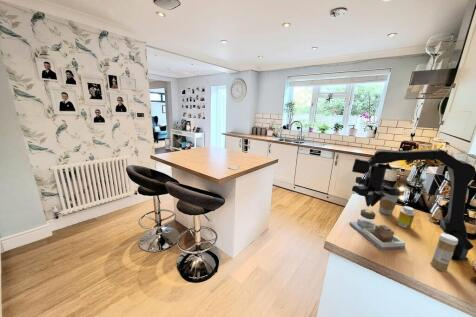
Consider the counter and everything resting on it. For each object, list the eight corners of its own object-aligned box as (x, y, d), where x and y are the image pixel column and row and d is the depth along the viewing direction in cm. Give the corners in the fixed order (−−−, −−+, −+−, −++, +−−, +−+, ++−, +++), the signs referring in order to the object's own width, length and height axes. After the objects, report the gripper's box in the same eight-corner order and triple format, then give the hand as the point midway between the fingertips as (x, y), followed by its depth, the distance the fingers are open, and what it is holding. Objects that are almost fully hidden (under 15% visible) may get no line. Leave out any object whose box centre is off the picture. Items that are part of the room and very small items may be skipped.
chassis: (404, 248, 82) (407, 240, 82) (380, 249, 81) (382, 242, 80) (369, 223, 101) (371, 216, 100) (349, 224, 99) (350, 217, 98)
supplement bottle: (408, 229, 96) (413, 211, 94) (395, 224, 101) (400, 206, 98) (412, 226, 99) (417, 209, 97) (399, 221, 104) (403, 204, 101)
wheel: (377, 219, 92) (378, 214, 92) (366, 219, 92) (367, 215, 91) (367, 212, 98) (368, 208, 98) (357, 213, 97) (358, 208, 97)
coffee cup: (394, 212, 113) (401, 189, 109) (393, 217, 107) (400, 193, 103) (377, 207, 118) (383, 185, 115) (375, 212, 112) (381, 188, 109)
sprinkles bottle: (445, 266, 73) (457, 236, 70) (447, 273, 70) (460, 242, 66) (429, 260, 76) (439, 231, 73) (430, 267, 73) (441, 236, 69)
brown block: (391, 241, 85) (394, 230, 83) (382, 242, 84) (385, 230, 82) (381, 234, 89) (384, 223, 88) (373, 234, 89) (376, 224, 87)
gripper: (379, 170, 99) (373, 198, 103) (347, 171, 96) (341, 199, 100) (400, 178, 88) (391, 208, 92) (364, 178, 85) (357, 209, 89)
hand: (369, 206), depth 94 cm, fingers closed
